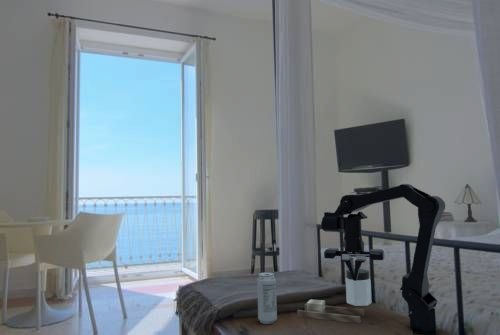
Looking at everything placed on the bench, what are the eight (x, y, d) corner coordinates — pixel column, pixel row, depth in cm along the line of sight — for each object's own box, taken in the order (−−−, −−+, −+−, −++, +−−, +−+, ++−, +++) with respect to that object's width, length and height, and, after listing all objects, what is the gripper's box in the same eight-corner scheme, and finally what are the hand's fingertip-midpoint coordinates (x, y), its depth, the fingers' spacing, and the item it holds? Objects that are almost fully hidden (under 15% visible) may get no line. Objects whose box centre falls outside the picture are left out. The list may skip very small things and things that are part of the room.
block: (325, 312, 129) (325, 300, 130) (321, 317, 125) (321, 304, 125) (311, 311, 132) (310, 299, 132) (306, 315, 127) (306, 303, 127)
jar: (369, 301, 145) (367, 268, 146) (374, 307, 136) (372, 272, 137) (344, 301, 145) (343, 268, 146) (348, 307, 137) (347, 273, 138)
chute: (364, 316, 126) (364, 309, 126) (360, 325, 118) (359, 317, 118) (305, 310, 134) (305, 303, 135) (297, 318, 126) (297, 310, 126)
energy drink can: (272, 317, 127) (271, 271, 129) (280, 323, 122) (278, 274, 123) (255, 320, 125) (254, 273, 127) (262, 325, 120) (261, 276, 121)
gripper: (384, 230, 131) (387, 277, 130) (330, 230, 139) (332, 274, 137) (381, 233, 121) (384, 284, 120) (322, 233, 129) (324, 280, 127)
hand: (355, 280), depth 126 cm, fingers closed
